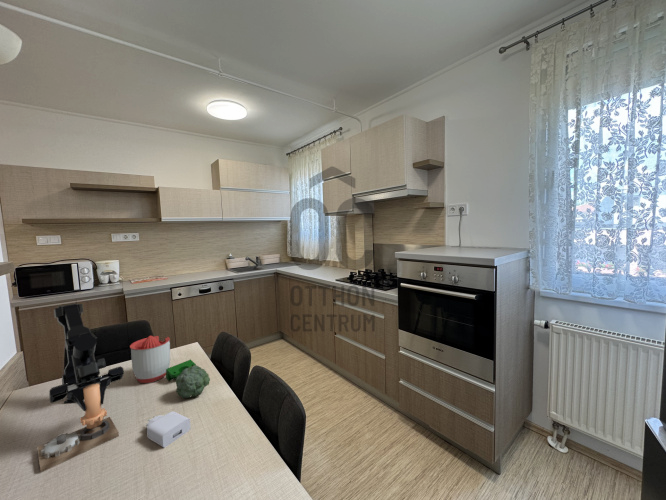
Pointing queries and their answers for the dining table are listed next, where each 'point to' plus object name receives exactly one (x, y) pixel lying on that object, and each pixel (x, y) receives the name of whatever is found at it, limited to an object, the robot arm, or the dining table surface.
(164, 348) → the citrus juicer
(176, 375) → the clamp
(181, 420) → the charger
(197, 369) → the vegetable
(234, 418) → the dining table surface
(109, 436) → the gear board
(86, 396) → the gear spindle
